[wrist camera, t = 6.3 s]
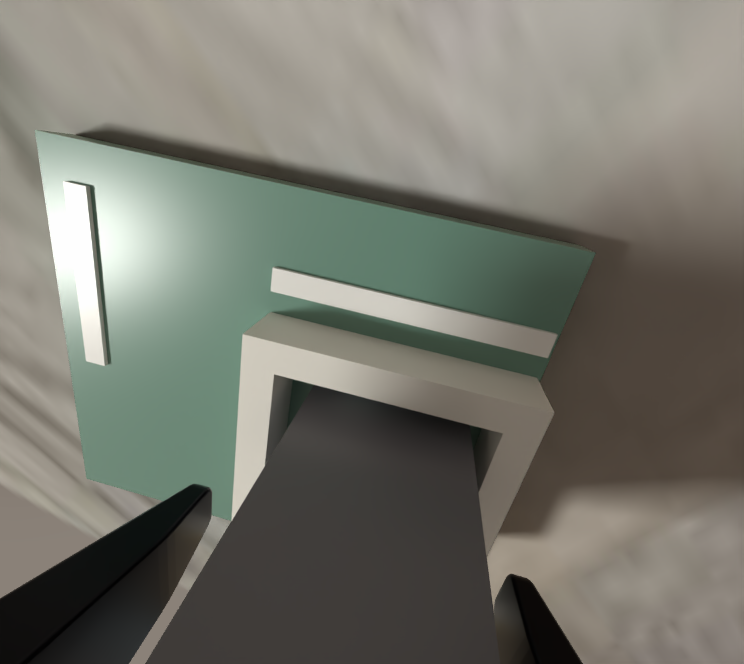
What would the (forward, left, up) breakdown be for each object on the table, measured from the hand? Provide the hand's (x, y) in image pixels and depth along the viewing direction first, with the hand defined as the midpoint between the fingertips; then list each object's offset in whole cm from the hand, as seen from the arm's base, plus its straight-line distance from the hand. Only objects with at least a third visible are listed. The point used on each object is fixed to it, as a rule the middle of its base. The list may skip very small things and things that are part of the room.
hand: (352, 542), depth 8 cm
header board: (+3, -1, -4) cm, 5 cm away
